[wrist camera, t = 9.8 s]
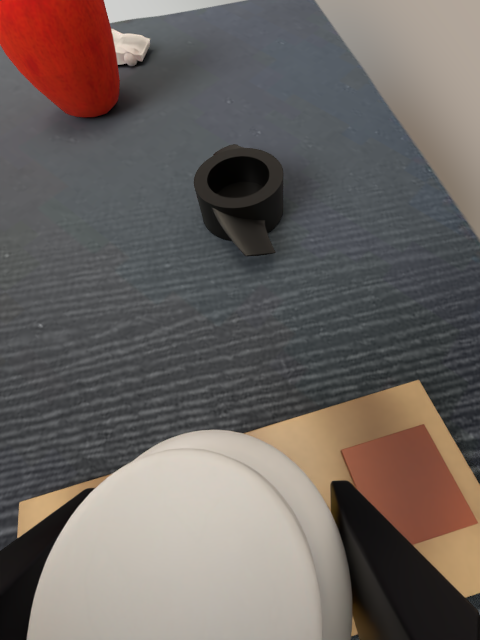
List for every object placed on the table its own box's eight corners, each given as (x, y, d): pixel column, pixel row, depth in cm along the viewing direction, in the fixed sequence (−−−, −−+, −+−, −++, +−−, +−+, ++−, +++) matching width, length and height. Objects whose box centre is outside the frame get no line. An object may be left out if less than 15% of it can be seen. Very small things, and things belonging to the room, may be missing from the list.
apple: (50, 147, 31) (-51, -12, 21) (51, 100, 35) (-33, -49, 26) (143, 122, 31) (84, -45, 22) (132, 79, 35) (79, -75, 26)
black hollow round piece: (313, 174, 25) (317, 137, 22) (270, 277, 21) (269, 245, 18) (220, 159, 27) (214, 124, 25) (164, 250, 23) (149, 218, 20)
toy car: (90, 52, 40) (80, 28, 38) (154, 47, 39) (147, 22, 37) (77, 72, 37) (66, 48, 36) (144, 67, 36) (136, 42, 34)
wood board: (11, 747, 12) (-4, 760, 11) (24, 502, 16) (14, 501, 15) (525, 573, 13) (538, 576, 12) (416, 381, 17) (421, 377, 16)
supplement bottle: (344, 538, 13) (486, 597, 4) (248, 683, 11) (136, 1343, 2) (238, 439, 15) (182, 338, 6) (145, 547, 13) (-111, 617, 5)
